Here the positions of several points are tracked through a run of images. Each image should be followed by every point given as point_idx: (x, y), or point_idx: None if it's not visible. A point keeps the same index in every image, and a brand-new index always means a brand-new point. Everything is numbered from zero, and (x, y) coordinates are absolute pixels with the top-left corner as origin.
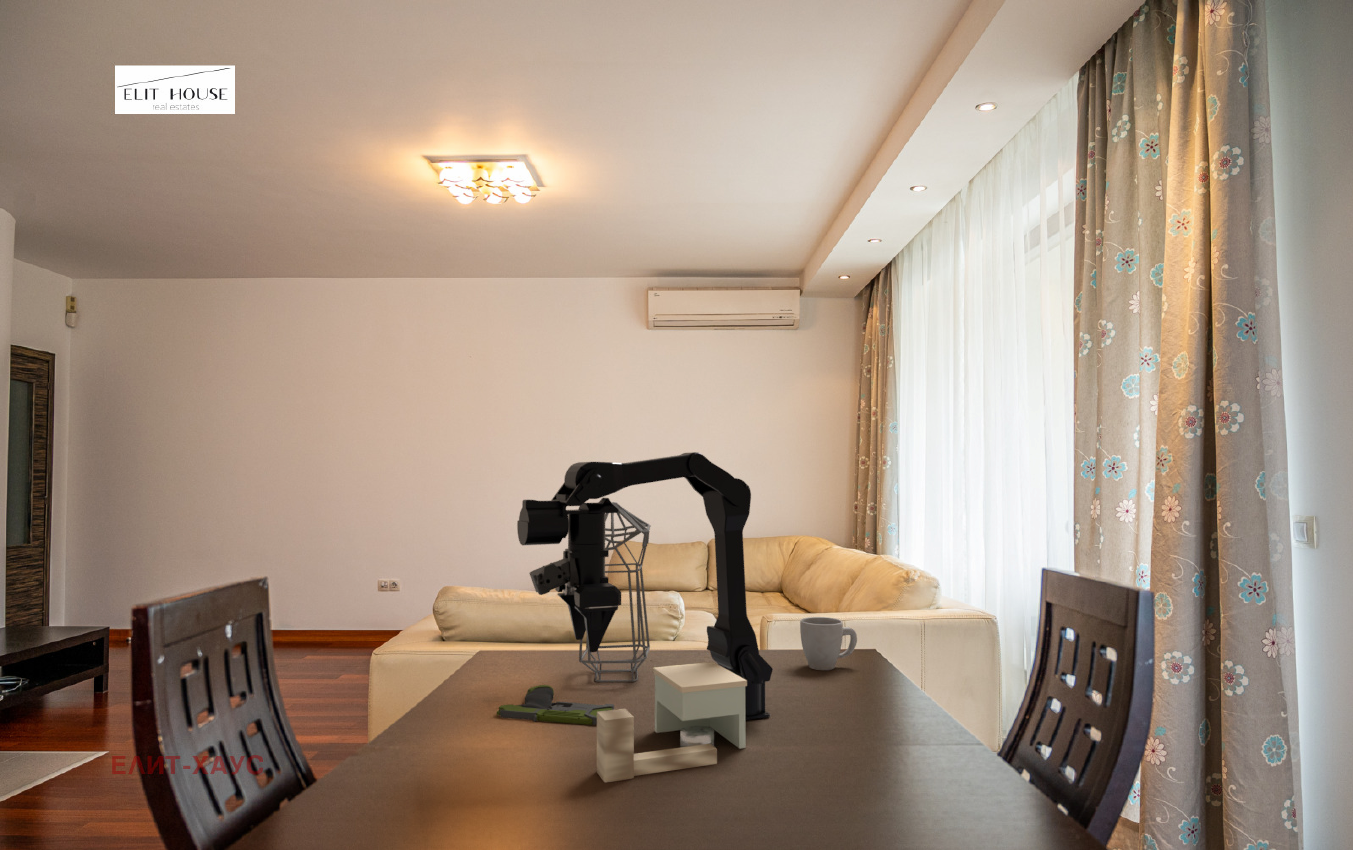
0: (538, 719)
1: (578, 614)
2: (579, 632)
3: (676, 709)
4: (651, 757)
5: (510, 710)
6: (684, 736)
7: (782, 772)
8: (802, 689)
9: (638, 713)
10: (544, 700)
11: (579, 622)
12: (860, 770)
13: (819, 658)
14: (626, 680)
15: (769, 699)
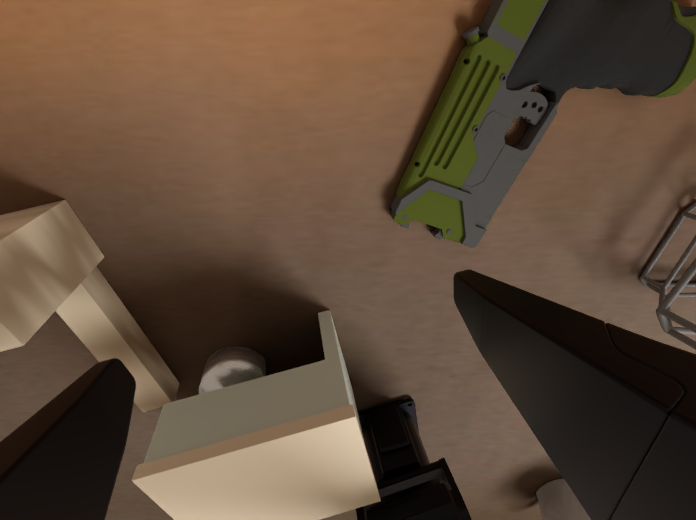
0: (467, 45)
1: (571, 403)
2: (472, 312)
3: (197, 406)
4: (68, 322)
5: None
6: (211, 371)
7: (123, 455)
8: (472, 473)
9: (443, 283)
10: (578, 66)
11: (518, 358)
12: (145, 512)
13: (548, 505)
14: (649, 266)
15: (445, 445)
